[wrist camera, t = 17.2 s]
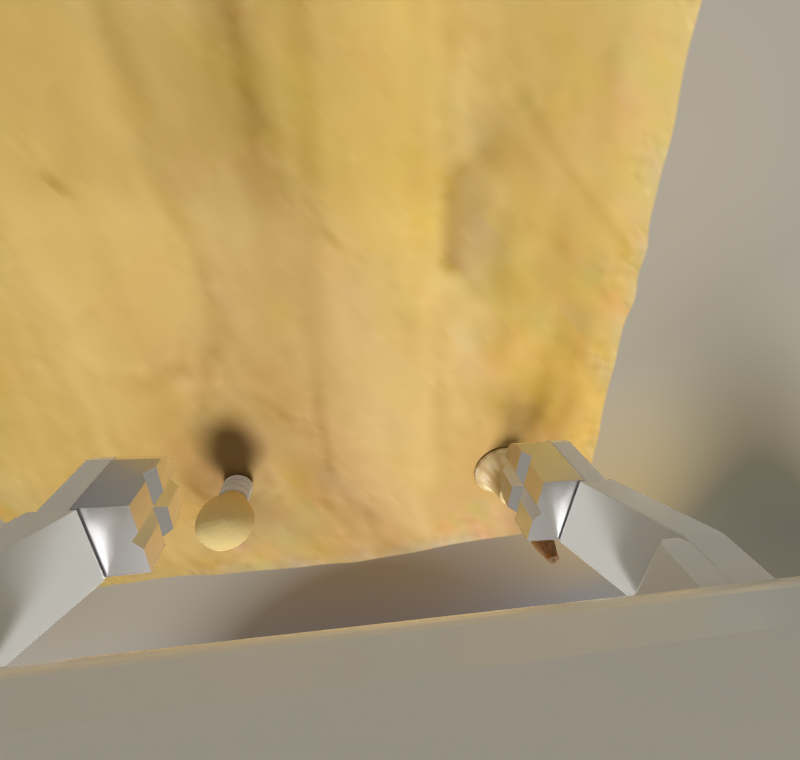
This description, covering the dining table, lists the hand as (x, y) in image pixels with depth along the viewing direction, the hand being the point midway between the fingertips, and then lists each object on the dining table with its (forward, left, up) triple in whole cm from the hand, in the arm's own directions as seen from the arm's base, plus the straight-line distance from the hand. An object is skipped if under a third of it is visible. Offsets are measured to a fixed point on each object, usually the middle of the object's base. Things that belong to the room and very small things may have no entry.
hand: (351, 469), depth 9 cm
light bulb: (-14, -30, -35) cm, 48 cm away
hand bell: (+24, -30, -35) cm, 52 cm away
